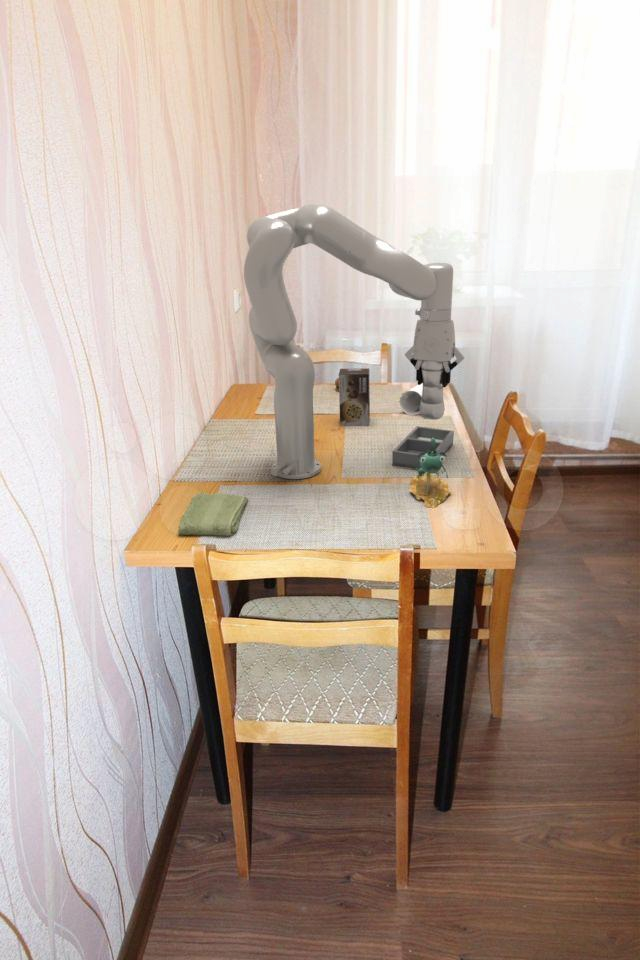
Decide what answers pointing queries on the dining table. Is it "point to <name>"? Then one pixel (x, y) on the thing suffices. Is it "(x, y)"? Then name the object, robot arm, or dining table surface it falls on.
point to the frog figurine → (430, 478)
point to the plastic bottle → (432, 390)
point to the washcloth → (212, 514)
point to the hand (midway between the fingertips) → (432, 384)
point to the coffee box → (354, 397)
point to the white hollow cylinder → (411, 400)
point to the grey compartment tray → (421, 446)
